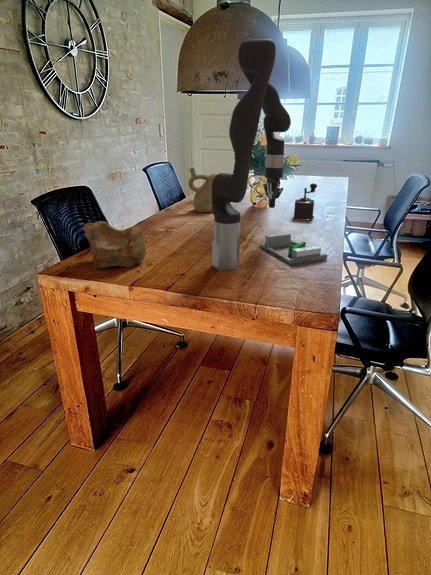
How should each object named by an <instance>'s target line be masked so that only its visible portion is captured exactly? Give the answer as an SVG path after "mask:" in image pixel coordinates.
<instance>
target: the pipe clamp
mask: <svg viewBox="0 0 431 575" xmlns="http://www.w3.org/2000/svg"><path fill="white" fill-rule="evenodd" d="M306 246H307V245H306V241H301V242H297V243H296V241H295V242H294V244H293V245H289V246H288V252H287V255H288V256H289V257H290V259H292V249H297V248H305V247H306ZM288 256H287V257H288Z"/></svg>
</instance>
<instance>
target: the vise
mask: <svg viewBox="0 0 431 575" xmlns="http://www.w3.org/2000/svg"><path fill="white" fill-rule="evenodd" d="M294 242H296V241H294V240H292V239H291V242H290V245H293V244H294ZM296 243H298V241H297V242H296ZM259 248H260V249H262V250H263V251H265V252H267V253H268V254H271V255H272V256H274V257H276V258H277V259H279V260H280V261H282V262H285V263H287V264H288V265H290V266H291V267H293V266H295V267H296V266H301V265H306V264H313V263H319V262H326V261H328V253H321V252H322V251H321V250H322V247H320V246H317V245H312V246H305V248H297V249H292V259H291V257H288V256H286V255H284V254H283V253H282V252H279V251H277V250H276V249H275V248H270V247H268V246H267V245H265V243H259Z"/></svg>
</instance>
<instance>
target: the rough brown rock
mask: <svg viewBox="0 0 431 575" xmlns="http://www.w3.org/2000/svg"><path fill="white" fill-rule="evenodd" d="M83 231H84V233H85V234H86V238H87V240H88V243H89V247H90V251H91V258H92V260H93V264H94V269H96V270H97V269H98V270H99V269H105V268H108V267H109V268H110V267H114V266H115V267H116V266H117V267H118V266H119V267H124V268H125V267H126V268H132V267H135V265H138V264H140V263H141V262H142V261H144V260H145V258H146V256H147V251H146V250H147V249H146V243H145V242H144V237H143V236H144V235H143V230H142V228H141V227H139V226H131V227H130V228H128V229H125V230H121V229H117V228H114V227H112V225H110V224H109V223H108V222H107V221H101V220H100V221H95V222H87V223H85V224H84V225H83Z"/></svg>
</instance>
